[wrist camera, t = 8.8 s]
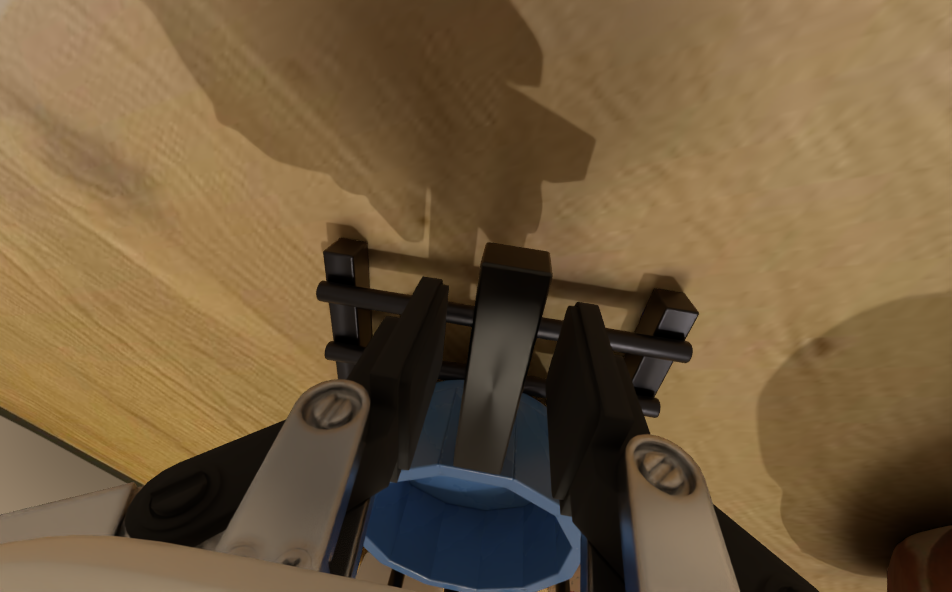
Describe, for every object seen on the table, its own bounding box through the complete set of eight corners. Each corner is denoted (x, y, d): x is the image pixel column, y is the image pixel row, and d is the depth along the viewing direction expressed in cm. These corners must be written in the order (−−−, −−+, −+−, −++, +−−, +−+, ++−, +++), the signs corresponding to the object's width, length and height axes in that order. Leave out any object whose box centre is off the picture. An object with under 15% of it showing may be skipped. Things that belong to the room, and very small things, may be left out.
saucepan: (376, 184, 11) (303, 233, 7) (671, 230, 11) (743, 305, 7) (384, 485, 20) (352, 575, 16) (548, 517, 19) (553, 617, 16)
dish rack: (339, 236, 15) (112, 421, 7) (684, 292, 14) (893, 570, 6) (362, 485, 24) (279, 686, 16) (569, 526, 23) (590, 756, 15)
